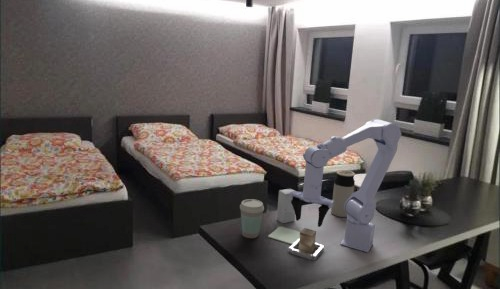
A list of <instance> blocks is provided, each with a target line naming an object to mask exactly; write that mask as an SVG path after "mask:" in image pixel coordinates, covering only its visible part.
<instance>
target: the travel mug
mask: <svg viewBox="0 0 500 289" xmlns="http://www.w3.org/2000/svg"><path fill="white" fill-rule="evenodd" d="M355 175H356V173H355V172H354V171H351V170H348V169H338V170H336V177H334V182H333V183H334V184H333V193H332V199H331V200H332V201H334V205H333V207H332V208H330V209H331V210H330V212H331V214H333V215H334V216H336V217H339V218H347V212H346V211H345V209H344V205H345V202H346V201H347V200H348V199H349V198H350V197H351V195H352V193H354V192H355V191H354V190H355V184H356V181H355Z"/></svg>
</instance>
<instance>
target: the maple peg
mask: <svg viewBox="0 0 500 289" xmlns="http://www.w3.org/2000/svg"><path fill="white" fill-rule="evenodd" d="M299 232H300V240H299V246H298V250H300V251H303V252H306V253H309V254H313V253H314V251H315V249H316V248H315V243H316V236H317V231H316V230H313V229H311V228H307V227H304V228H303V229H302V230H301V231H299Z"/></svg>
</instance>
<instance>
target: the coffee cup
mask: <svg viewBox="0 0 500 289" xmlns="http://www.w3.org/2000/svg"><path fill="white" fill-rule="evenodd" d="M239 209H240V220H241V221H240V222H241V234H242V236H243V237H244V238H247V239H257V237H258V236H259V235H260V228H261V224H262V218H263V212H264V211H265V206H264V203H263V202H262V201H261V200H258V199H255V198H254V199H253V198H251V199H250V198H249V199H244V200H242V201H241V203H240V204H239Z"/></svg>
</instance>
